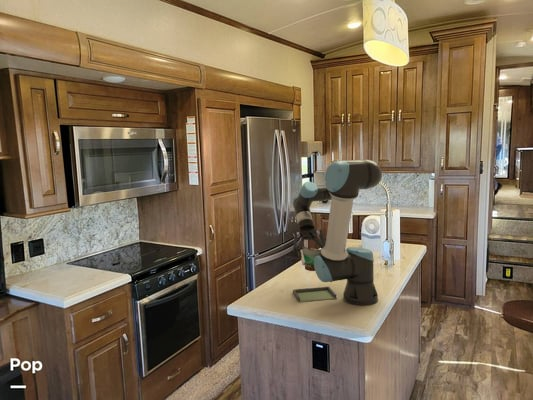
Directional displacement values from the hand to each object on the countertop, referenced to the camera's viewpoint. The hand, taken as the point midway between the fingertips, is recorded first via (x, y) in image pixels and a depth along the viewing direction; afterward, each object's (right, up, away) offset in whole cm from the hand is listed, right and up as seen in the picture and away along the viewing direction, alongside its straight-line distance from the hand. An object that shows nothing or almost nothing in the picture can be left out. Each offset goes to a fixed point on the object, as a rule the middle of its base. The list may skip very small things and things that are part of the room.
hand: (314, 262), depth 185 cm
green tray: (0, -16, +5) cm, 17 cm away
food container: (-1, -4, +3) cm, 5 cm away
